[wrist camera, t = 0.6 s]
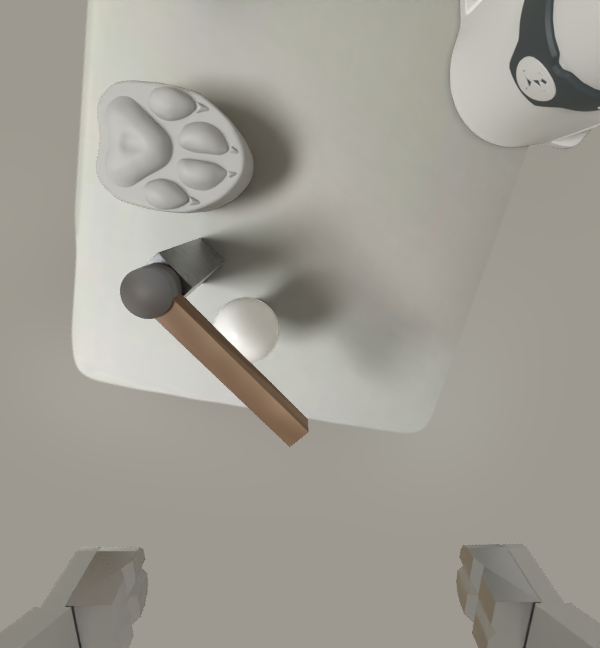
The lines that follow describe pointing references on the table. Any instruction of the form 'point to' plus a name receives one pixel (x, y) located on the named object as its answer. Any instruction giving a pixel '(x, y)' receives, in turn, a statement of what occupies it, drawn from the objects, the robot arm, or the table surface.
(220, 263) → the post
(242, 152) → the lumpy-topped squat cylinder
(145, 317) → the hammer
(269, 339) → the lightbulb
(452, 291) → the table surface
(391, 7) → the table surface
